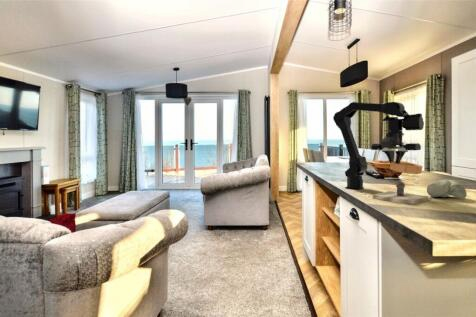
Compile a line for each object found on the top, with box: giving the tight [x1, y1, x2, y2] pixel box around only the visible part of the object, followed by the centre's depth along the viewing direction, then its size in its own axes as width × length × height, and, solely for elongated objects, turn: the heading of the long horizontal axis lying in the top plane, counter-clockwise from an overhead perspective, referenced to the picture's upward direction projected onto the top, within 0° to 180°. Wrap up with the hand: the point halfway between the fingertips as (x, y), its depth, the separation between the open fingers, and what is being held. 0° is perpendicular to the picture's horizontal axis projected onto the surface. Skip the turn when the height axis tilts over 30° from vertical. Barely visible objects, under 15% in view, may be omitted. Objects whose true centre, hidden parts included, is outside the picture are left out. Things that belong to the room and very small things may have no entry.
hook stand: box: [372, 181, 430, 206], centre depth 112 cm, size 15×13×7 cm
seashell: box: [426, 179, 467, 200], centre depth 113 cm, size 13×8×10 cm
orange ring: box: [389, 160, 424, 175], centre depth 120 cm, size 11×11×3 cm
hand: (394, 166), depth 124 cm, fingers closed on orange ring, 2 cm apart
